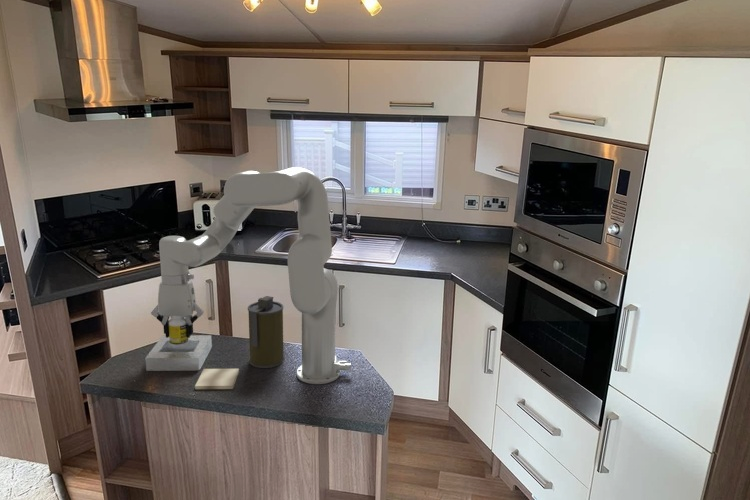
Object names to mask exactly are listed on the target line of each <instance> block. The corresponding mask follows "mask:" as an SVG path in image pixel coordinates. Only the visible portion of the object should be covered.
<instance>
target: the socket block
mask: <svg viewBox="0 0 750 500" xmlns="http://www.w3.org/2000/svg"><path fill="white" fill-rule="evenodd" d="M188 339H189V341H188V343H187V344H186V345H183V346H172V345H170V341H169V337H168V338H166V334H164V335H162V336H161V337H160V338H159V339H158V341H157V342H156V343H155V345H154V346H153V347H152V349H151V350H150V351H149V353H148V354H147V355H146V357H145V358H144V359H145V370H146V371H147V372H152V371H154V372H156V371H157V372H160V371H162V372H163V371H164V372H166V371H167V372H168V371H169V372H170V371H173V372H175V371H178V372H180V371H182V372H183V371H190V372H191V371H200V370H201V369H202V367H203V365H204V363H205V361H206V359H207V357H208V355H209V353H210V351H211V350H212V347H213V344H212V343H213V342H212V335H211V334H209V335H205V334H202V335H200V334H199V335H196V334H195V335H193V334H191V336H190V337H189V338H188Z"/></svg>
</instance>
